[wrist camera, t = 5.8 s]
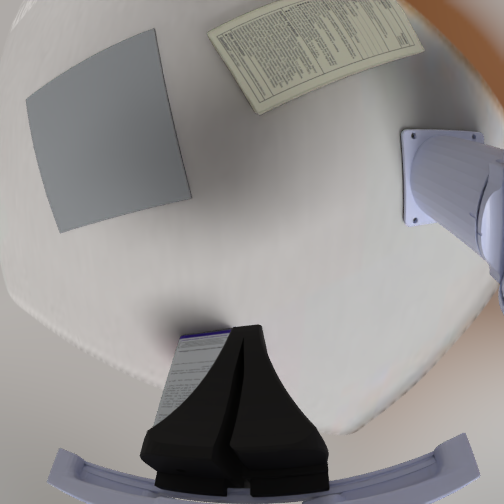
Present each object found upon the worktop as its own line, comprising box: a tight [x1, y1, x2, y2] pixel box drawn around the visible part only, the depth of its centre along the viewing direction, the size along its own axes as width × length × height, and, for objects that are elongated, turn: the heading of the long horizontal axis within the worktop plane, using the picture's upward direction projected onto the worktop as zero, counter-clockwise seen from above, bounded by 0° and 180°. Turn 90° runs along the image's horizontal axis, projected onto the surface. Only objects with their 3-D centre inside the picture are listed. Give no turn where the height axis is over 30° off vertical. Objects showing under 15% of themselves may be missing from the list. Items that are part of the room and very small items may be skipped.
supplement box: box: [153, 329, 231, 427], centre depth 22 cm, size 6×6×12 cm
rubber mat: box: [26, 28, 192, 233], centre depth 18 cm, size 14×14×1 cm
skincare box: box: [207, 0, 425, 115], centre depth 13 cm, size 6×4×12 cm
